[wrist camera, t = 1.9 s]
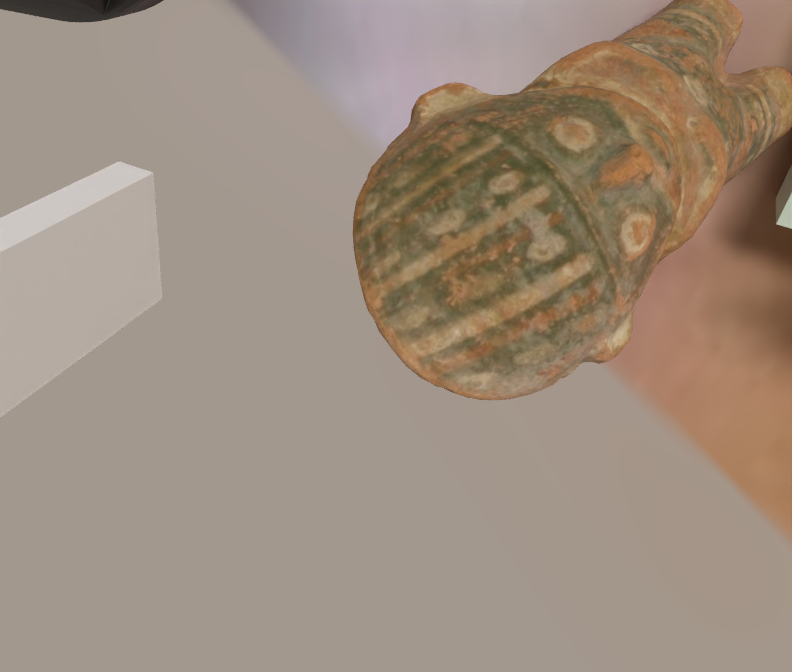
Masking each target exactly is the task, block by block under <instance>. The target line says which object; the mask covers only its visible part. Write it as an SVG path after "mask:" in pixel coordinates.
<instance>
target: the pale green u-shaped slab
mask: <svg viewBox="0 0 792 672" xmlns="http://www.w3.org/2000/svg"><path fill="white" fill-rule="evenodd" d="M776 224H777V225H780V226H784V227H788V228H791V229H792V165H791V167H790V169H789V171H788V173H787V175H786V177H785V179H784V182H783V184H782V186H781V188H780V190H779V192H778V194H777V196H776Z"/></svg>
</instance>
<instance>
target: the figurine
mask: <svg viewBox="0 0 792 672" xmlns="http://www.w3.org/2000/svg"><path fill="white" fill-rule="evenodd" d="M742 24H743V18H742V15H741V13H740V11H739V10H738V9H737V8H736V7H735V6H734V5H733V4H732V3H730V2H729V1H728V0H674V1H673V2H671V3H670V4H669V5H667V6H666V7H665V8H664V9H662V10H661V11H660V12H658V13H657V14H656V15H654V16H653V17H651V18H650V19H649V20H647V21H646V22H644V23H642V24H640V25H638V26H636V27H634V28H632V29H631V30H629V31H627V32H625V33H624V34H622V35H620V36H619V37H617V38H615V39H614V40H612V41H602V42H596V43H593V44H590V45H588V46H586V47H583V48H581V49H579V50H577V51H575V52H572V53H570V54H569V55H567V56H565V57H563V58H561V59H560V60H559V61H557V62H556V63H554V64H553V65H552V66H550V67H549V68H548V69H547V70H546V71H544V72H543V73H542V74H541V75H540V76H538V77H537V78H536V79H535V80H534V81H533V82H532V83H531V84H530V85H528V86H527V87H526V88H525V89H523V90H522V91H521V92H520V93H515V94H509V95H490V94H486V93H483V92H481V91H479V90H478V89H476V88H474V87H471V86H468V85H465V84H462V83H450V84H445V85H443V86H440V87H437V88H435V89H432V90H431V91H429V92H427V93H425V94H423V95H421V96H420V97H419V98H418V100H417V101H416V103H415V105H414V107H413V109H412V114H411V121H410V124H409V126H408V128H407V129H405V130H404V131H403V132H402V133H401V134H400V135H399V136H398V137H397V138H396V139H395V140H394V141H393V142H392V143H391V144H390V145H389V146H388V148H387V149H386V151H385V152H384V154H383V155H382V156H381V157H380V158H379V160H378V161H377V162H376V163H375V164H374V165H373V166H372V167H371V170H370V172H369V174H368V178H367V180H366V182H365V184H364V186H363V188H362V190H361V192H360V194H359V196H358V198H357V201H356V207H355V212H354V222H353V242H354V251H355V259H356V264H357V268H358V274H359V279H360V284H361V288H362V292H363V295H364V299H365V302H366V305H367V308H368V311H369V312H370V314H371V315H372V317H373V319H374V320H375V323H376V325H377V327H378V330H379V332H380V333H381V334H382V336H383V337H384V338H385V340H386V341H387V343H388V344H389V345H390V347H391V348H392V349H393V351H394V352H395V353H396V354H397V356H398V357H399V358H400V359H401V360H402V361H403V363H404V364H405V365H406V366H407V367H408V368H409V369H411V370H412V371H413V372H414V373H416V374H417V375H418V376H419V377H421V378H422V379H424V380H426V381H428V382H430V383H432V384H434V385H435V386H437V387H442V388H444V389H446V390H449V391H451V392H453V393H456V394H459V395H462V396H465V397H468V398H474V399H480V400H503V399H504V400H505V399H511V398H516V397H521V396H525V395H528V394H532V393H534V392H537V391H540V390H542V389H545V388H547V387H549V386H551V385H553V384H554V383H556V382H557V381H558V380H559V379H560V378H564V377H566V376H567V375H569V374H571V373H572V372H573V371H574V370H575V369H576V367H578V366H579V365H580V364H581V363H583V362H595V363H598V364H600V363H603V362H607V361H609V360H611V359H613V358H614V357H616V356H617V355H618V354H619V353H620V352H621V351H622V350H623V348H624V347H625V346H626V344H627V343H628V341H629V340H630V337H631V334H632V330H633V311H634V305H635V304H636V302H637V300H638V299H639V297H640V295H641V293H642V291H643V289H644V287H645V285H646V283H647V281H648V279H649V277H650V275H651V273H652V271H653V269H654V267H655V266H656V265H657V264H658V263H659V262H660V261H661V260H662V259H663V258H664V257H666V256H667V255H668V254H670V253H671V252H673V251H675V250H676V249H678V248H680V247H681V246H682V245H683V244H684V243H685V242H686V241H688V240H689V239H690V238H691V237H692V236H693V235H694V233H695V232H696V230H697V229H698V227H699V226H700V225H701V223H702V222H703V220H704V219H705V217H706V216H707V214H708V213H709V211H710V210H711V208H712V206H713V205H714V203H715V201H716V200H717V197H718V195H719V193H720V191H721V189H722V187H723V186H724V185H725V184H726V183H727V182H728V181H730V180H731V179H732V178H733V177H734V176H736V175H737V174H738V173H739V172H740V171H741V170H743V169H744V168H745V167H746V166H748V165H749V164H750V163H751V162H753V161H754V160H755V159H757V158H758V157H759V156H760V155H761V154H762V153H763V152H764V151H765V150H766V149H767V148H768V147H769V146H771V145H772V144H773V143H774V142H775V141H776V140H778V139H779V138H781V137H782V136H783V135H785V134H786V133H787V132H788V131H789V129H790V128H791V127H792V75H791V74H790V73H789V72H788V71H787V70H786V69H784V68H783V67H767V66H765V67H761V68H756V69H753V70H750V71H746V72H743V73H740V74H728V73H727V72H726V71H725V67H724V65H725V62H726V59H727V57H728V54H729V52H730V50H731V49H732V47H733V45H734V44H735V42H736V40H737V38H738V36H739V34H740V32H741V28H742Z"/></svg>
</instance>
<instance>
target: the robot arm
mask: <svg viewBox="0 0 792 672" xmlns="http://www.w3.org/2000/svg"><path fill="white" fill-rule="evenodd" d="M161 1H163V0H0V9H3V10H8V11H14V12H19V13H24V14H30V15H34V16H39V17H45V18H51V19H55V20H61V21H68V22H95V21H102V20H107V19H111V18H115V17H119V16H123V15H127V14H131V13H135V12H139V11H142V10H145V9H147V8H150V7H152V6H154V5H156V4H158V3H160V2H161ZM162 298H163V297H162V283H161V270H160V256H159V242H158V229H157V216H156V200H155V186H154V173H152V172H150V171H146V170H144V169H140V168H137V167H134V166H131V165H128V164H126V163H123V162H120V161H119V162H117V163H115V164H112V165H110V166H108V167H106V168H104V169H102V170H100V171H98V172H96V173H93V174H91V175H89V176H87V177H85V178H83V179H81V180H79V181H77V182H75V183H72V184H70V185H68V186H66V187H64V188H62V189H60V190H58V191H56V192H53V193H52V194H49V195H47V196H45V197H43V198H41V199H39V200H37V201H35V202H32V203H31V204H28V205H26V206H24V207H22V208H20V209H18V210H16V211H13V212H11V213H9V214H7V215H5V216H3V217H1V218H0V417H1V416H3V415H4V414H6V413H7V412H8V411H10V410H11V409H12V408H14V407H15V406H16V405H18V404H19V403H20V402H22V401H23V400H25V399H26V398H27V397H29V396H30V395H31V394H33V393H34V392H36V391H37V390H38V389H39V388H41V387H42V386H44V385H45V384H46V383H47V382H49V381H51V380H52V379H53V378H55V377H56V376H57V375H59V374H60V373H61V372H63V371H64V370H66V369H67V368H68V367H70V366H71V365H72V364H74V363H75V362H76V361H78V360H79V359H80V358H82V357H83V356H85V355H86V354H87V353H89V352H90V351H91V350H93V349H94V348H96V347H97V346H98V345H99V344H101V343H102V342H104V341H105V340H106V339H108V338H109V337H111V336H112V335H113V334H114V333H116V332H117V331H119V330H120V329H121V328H123V327H124V326H126V325H127V324H128V323H129V322H131V321H132V320H134V319H135V318H136V317H138V316H139V315H141V314H142V313H143V312H144V311H146V310H147V309H149V308H150V307H151V306H153V305H154V304H156V303H157V302H158V301H160V300H161V299H162Z"/></svg>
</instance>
